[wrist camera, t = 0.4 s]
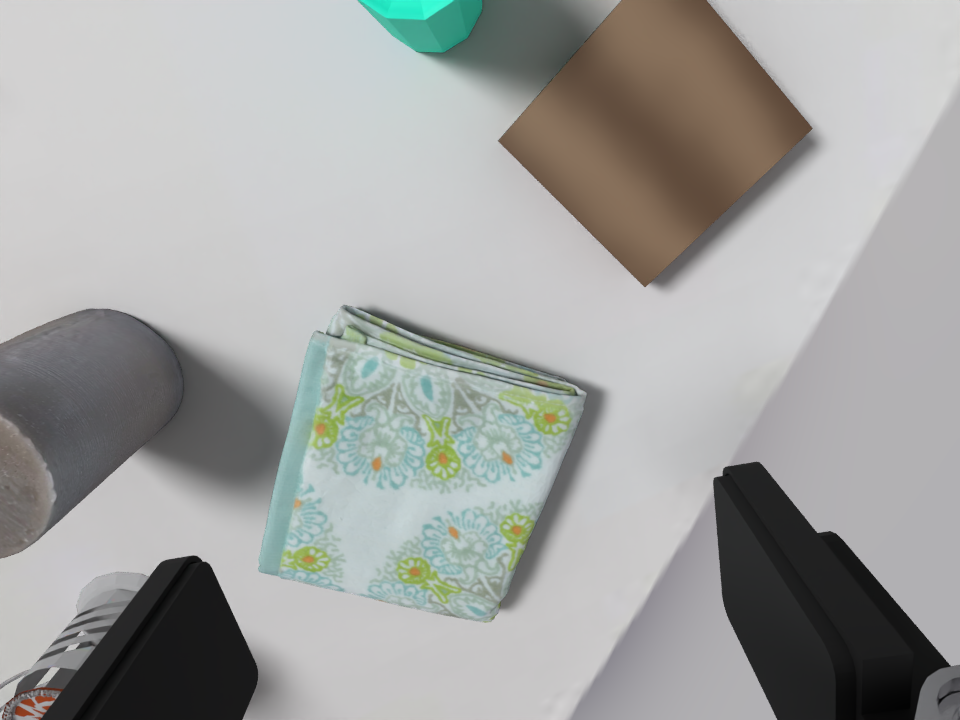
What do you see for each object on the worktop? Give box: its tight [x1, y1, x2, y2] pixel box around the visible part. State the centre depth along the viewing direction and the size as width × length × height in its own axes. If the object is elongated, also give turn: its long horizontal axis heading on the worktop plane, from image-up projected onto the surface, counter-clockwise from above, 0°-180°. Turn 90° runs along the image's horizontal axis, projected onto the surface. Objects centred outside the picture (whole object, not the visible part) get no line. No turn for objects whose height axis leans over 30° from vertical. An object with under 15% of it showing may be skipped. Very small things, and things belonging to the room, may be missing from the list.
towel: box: [258, 305, 587, 622], centre depth 41 cm, size 18×21×5 cm
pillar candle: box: [0, 309, 184, 558], centre depth 34 cm, size 10×10×15 cm
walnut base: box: [498, 0, 813, 287], centre depth 34 cm, size 12×12×3 cm
